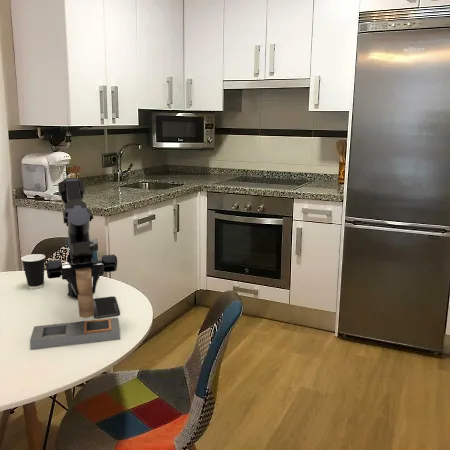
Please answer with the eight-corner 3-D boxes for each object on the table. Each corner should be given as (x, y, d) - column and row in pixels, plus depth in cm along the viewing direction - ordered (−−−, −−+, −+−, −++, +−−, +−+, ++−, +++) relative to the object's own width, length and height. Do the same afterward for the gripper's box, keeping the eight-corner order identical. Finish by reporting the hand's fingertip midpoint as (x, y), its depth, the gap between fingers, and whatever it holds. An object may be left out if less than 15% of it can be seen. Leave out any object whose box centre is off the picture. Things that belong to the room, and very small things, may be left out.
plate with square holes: (30, 349, 126) (29, 339, 125) (34, 334, 134) (33, 325, 134) (120, 339, 132) (119, 329, 131) (118, 325, 140) (118, 316, 140)
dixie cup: (51, 286, 171) (49, 257, 169) (29, 292, 166) (26, 262, 164) (42, 281, 177) (39, 252, 174) (20, 286, 172) (17, 257, 169)
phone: (94, 316, 144) (91, 298, 158) (94, 320, 145) (91, 301, 159) (120, 313, 147) (115, 295, 161) (120, 316, 147) (116, 299, 161)
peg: (86, 310, 135) (82, 266, 132) (97, 313, 133) (94, 268, 130) (76, 316, 131) (72, 271, 128) (87, 318, 129) (83, 273, 126)
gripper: (43, 232, 127) (46, 285, 120) (114, 226, 133) (122, 276, 126) (45, 252, 136) (49, 303, 129) (112, 246, 142) (119, 294, 135)
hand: (85, 294), depth 129 cm, fingers closed on peg, 4 cm apart
